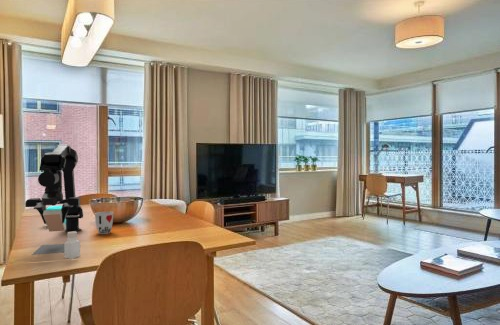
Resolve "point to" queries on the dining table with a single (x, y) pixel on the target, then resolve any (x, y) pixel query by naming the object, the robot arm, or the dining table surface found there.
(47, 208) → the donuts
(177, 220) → the dining table surface
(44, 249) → the mat
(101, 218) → the cup
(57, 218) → the block
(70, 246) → the pepper shaker
